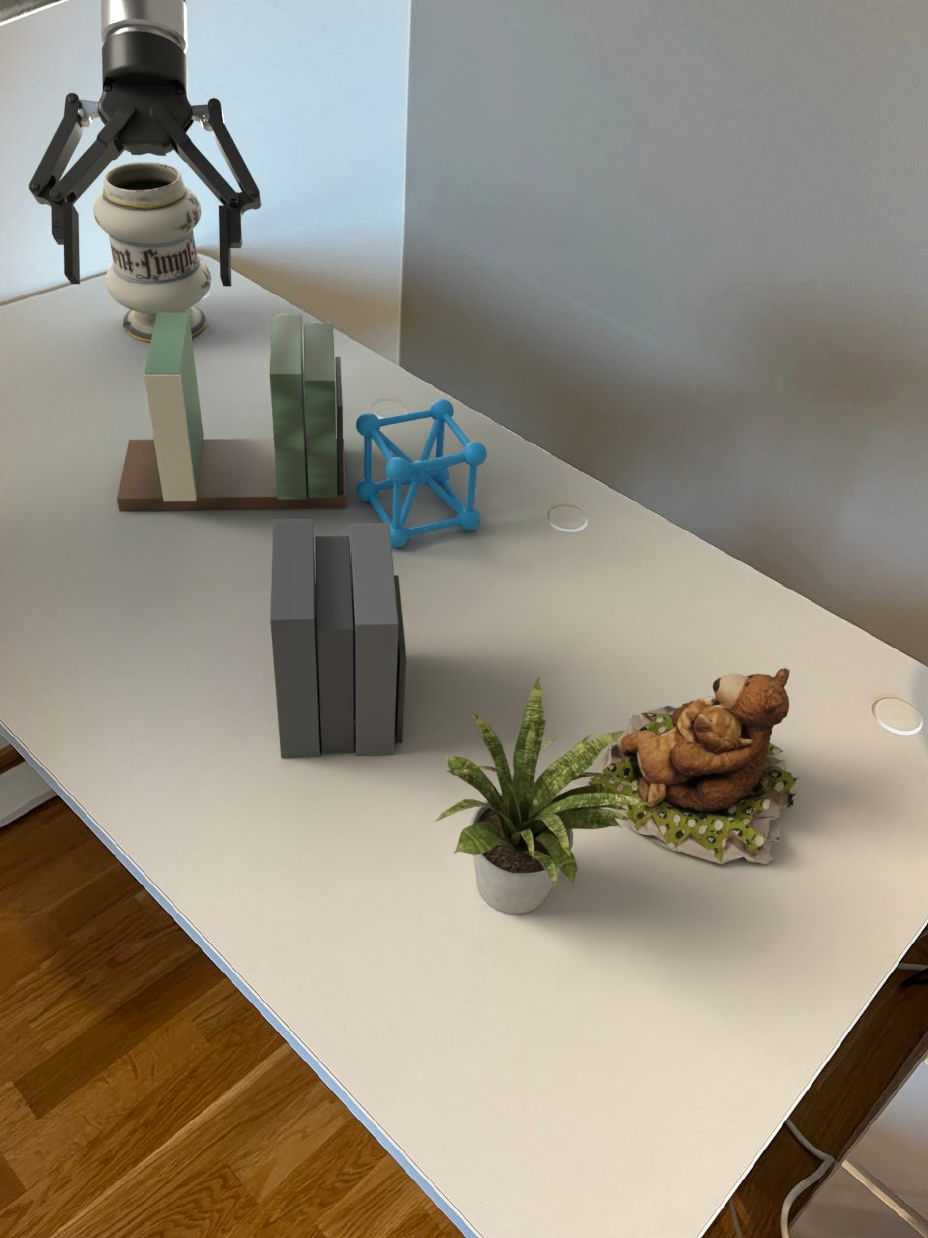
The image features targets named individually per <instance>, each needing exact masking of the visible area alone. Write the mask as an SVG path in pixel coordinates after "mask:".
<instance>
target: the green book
mask: <svg viewBox="0 0 928 1238" xmlns="http://www.w3.org/2000/svg"><path fill="white" fill-rule="evenodd" d="M196 368H197V367H196V358H195V351H194V343H193V337H192V334H191V325H190V317H189V313H157V314H156V319H155V324H154V329H153V334H152V339H151V342H150V345H149V349H148V354H147V360H146V363H145V369H144V373H143V380H144V386H145V392H146V398H147V399H146V400H147V405H148V411H149V417H150V418H149V419H150V425H151V431H152V437H153V440H154V444H155V450H156V456H157V462H158V469H159V475H160V481H161V488H162V494H163V500H164V501H196V500H197V489H198V480H199V472H200V463H201V455H202V446H203V439H205V436H204V426H203V418H202V409H201V404H200V403H201V401H200V393H199V385H198V377H197V369H196Z"/></svg>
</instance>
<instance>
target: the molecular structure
mask: <svg viewBox="0 0 928 1238" xmlns="http://www.w3.org/2000/svg"><path fill="white" fill-rule="evenodd" d="M454 413H455V409H454V406H453V403H452V402H451V401H449V400H448V399H445V398H439V399H436V400H434V401H433V403H431V405H430V409H425V410H420V411H414V412H409V413H404V414H397V415H393V416H387V417H382V418H379V417H378V416H377V415H376V414H375V413H372V412H363V413H362V414H360V415H359V416H358V417H357V419H356V422H355V429H356V431H357V433H358V434H359V435H360V436H362V437H364V438H363V439H364V441H363V442H364V443H363V445H364V446H363V449H364V451H363V455H364V456H363V463H364V464H363V476H364V477H363V478H362V479H361V480H360V481H358V483H357V484H356V488H355V490H356V491H355V492H356V495H357V496H358V498H359V499H360V500H362V501H363V502H370V503H371V505H372V506H373V507H374V509H375V511H376V512H377V514H378V516H379V517H380V519H381V520H382V522H383V524H385V523H388V524H389V526H390V537H391V547H392V548H395V549H396V548H401V547H403V546H405V544H406V543H407V542H408V540H409V537H412V536H417V535H421V534H426V533H430V532H434V531H435V532H436V531H439V530H443V529H448V528H451V527H456V526H459V527H460V528H461V530H464V531H467V532H468V531H469V532H470V531H474V530H476V529H477V528H478V527H479V526H480V524H481V520H482V517H481V513H480V511H479V510H477V509H476V508H475V498H476V497H475V496H476V495H475V494H476V488H477V487H476V485H477V477H478V476H477V473H478V467H480V466H482V465H483V464H484V463H485V461H486V460H487V457H488V452H487V451H488V450H487V448H486V446H485V445H484V444H483V443H481V442H479V441H476V440H475V441H470V439H469V438H468V437H467V436H466V434H465V433H464V432H463V430H462V429H461V428H460V427H459V425H458V424H457V422H456V421H455V420H454V418H453V416H454ZM428 418H431V419H433V423H432V426H431V427H430V428H431V429H430V431H429V434H428V437H427V438H426V439H427V440H426V442H425V445H424V448H423V451H422V453H421V455H420V459H419V460H415V461H413V460H412V459H411V458H410V457H409V456H408V455H407V454H406V453H405V452H403V450H401V449H400V448H399V447H398V446H397V445H396V444H395V443H394V442H393V441H392V440H391V439H390V438H389V437H387V436H386V435H385V434H384V433H383V432H382V431H381V427H385V426H391V425H396V424H401V423H407V422H411V421H412V422H413V421H417V420H422V419H423V420H424V419H428ZM446 425H447V427H449V429H450V430H451V432H452V433H453V434H454V435H455V437H456V438H457V439H458V441H459V442H460V443H461V445H462V447H463V448H462V452H459V453H454V454H449V455H444V443H445V427H446ZM435 441H436V442H435ZM373 442H374V443H375V444H376V446H377V448H378V450H379V451H380V452H381V454H382V455H383V457H384V458H385V460H386V462H387V463H386V464H385V468H384V473H385V476H386V477H387V479H384V480H381V481H378V482H377V481H376V480H375V479H373V477H372V475H373V474H372V473H373V471H372V470H373ZM434 445H435V457H434V458H430V456H431V453H432V450H433V447H434ZM429 458H430V459H429ZM462 463H465V464H466V465H467V466H469V469H468V479H467V481H468V482H467V491H466V492H467V493H466V503H465V504H466V505H465V504H464V503H463V502H462V501H461V499H460V498H459V496H458V495H457V494H456V492H455V490H454V489H453V488H452V485H450V484H449V482H448V481H449V479H450V471H449V469H448V468H450V467H453V466H455V465H459V464H462ZM424 484H425V485H426V486H427V487H429V488H430V489H431V490H432V491H433V492H434V493H435V494H436V495H437V496H438V497H439V498H440V499H441V500H442V501H443V502H445V504H447V505H448V506H449V507H450V508H451V509H452V511H454V512H455V513H456V514H457V516H456V517H454V518H450V519H445V520H441V521H436V522H432V523H427V524H424V525H419V526H414V527H410V528H407V527H405V523H406V521H407V518H408V516H409V513H410V510H411V508H412V505H413V502H414V500H415V496H416V493H417V490H418V488H419V485H420V486H421V485H424ZM409 485H410V486H409ZM404 486H409V488H408V490H407V494H406V497H405V499H404V502H403V504H402V487H404ZM390 489H391V490H392V489H393V493H392V495H393V496H392V519H391V518H390V516H389V515H388V513H387V511H386V509H385V508H384V506H383V505H382V503H381V502H380V500H379V499H378V496H379V495H380V492H382V491H386V490H390Z"/></svg>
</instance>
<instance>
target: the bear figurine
mask: <svg viewBox="0 0 928 1238" xmlns="http://www.w3.org/2000/svg"><path fill="white" fill-rule="evenodd" d="M790 670H791V669H788V668H786V667H784V668H780V669H779V670H778V671H777V672H776V673H775V674H774V676H772V675H770V674H764V673H753V674H749V675H743V674H741V673H728V674H725V675H723V676H721V677H718V678H717V679H716V680H714V681H713V683H712V691H713V692H714V696H708V697H704V698H698V699H696V700H691V701H689V702H685V703H683V704H682V705H681V706H679V707H674V706H671V705H666V706H663V707H659V708H654V709H650V710H646V711H643V712H640V714H632V716H631V718H630V720H629V722H628V723H627V726H626V728H625V731H627V732H623V735H622V734H621V735H620V736H619V737H618V738H617V739H616V743H614V744H610V745H609V747H608V748H607V751H606V753H605V755H604V756H603V759H602V760H601V762H600V764H599V766H598V768H597V770H596V772H595V773H601V774H606V775H610V776H614V777H617V778H620V779H623V780H625V781H627V782H629V783H632V784H635V785H637V786H640V787H643V788H646V789H649V790H645V789H641V788H637V787H633V786H629V785H626V784H622V783H619V782H615V781H612V780H608V779H604V778H599V777H595V776H592V777H590V780H589V781H588V782H587V784H588V785H603V786H606V787H608V788H609V789H611V790H613V791H614V793H615V794H620V795H625V796H630V797H634V798H636V799H639V800H642V801H645V802H648V803H650V804H651V805H630V804H622V803H619V804H617V805H619V806H621V807H623V808H625V809H626V810H617V809H615V810H616V812H617V813H620V814H622V815H623V816H626V817H628V818H630V819H631V820H627V823H628V824H629V826H630V829H631V830H632V831H633V832H635V833H637V834H639V835H641V836H642V837H644V838H646V836H654V837H655V838H657V839H659V840H660V841H662V842H664V843H665V845H666V846H667V847H668V848H667V847H666V846H663V845H661V844H660V843H658V842H656V841H654V840H651V839H650V838H648V840H650V841H651V842H653V843H655V844H656V845H658V846H660V847H662V848H663V849H665V850H667V851H672V852H678V853H683V854H686V855H690V856H692V857H696V858H699V859H703V860H705V861H708V862H712V863H716V864H719V865H724V864H726V863H727V862H731V861H734V860H737V859H741V858H745V859H746V861H747V862H751V863H757V864H763V865H769V863H770V862H771V861H775V859H774V857H773V856H772V855H771V854H770V853H769V851H770V850H771V848H772V846H773V845H777V844H780V816H781V813H783V812H784V811H786V810H787V809H789V808H790V807H791V806H793V805H795V802H796V800H795V799H796V798H797V796H798V795H797V794H798V793H797V792H792V789H793V787H794V785H796V783H797V780H798V779H799V776H798V775H796V774H794V773H792V772H789V771H788V769H787V760H786V759H779V758H778V757H777V756H775V755H778V754H781V753H783V752H784V750H782V748H780V747H779V746H777V745H776V744H773V743H771V736H772V735H773V728H774V727H775V726H776V725H779V724H782V722H783V720H784V719H785V718H786V717H788V713H789V711H790V710H789V709H790V700H789V695H788V692H787V690H786V688H785V686H786V685H787V684H788V681H789V677H790V673H791V672H790ZM588 785H586V786H588ZM650 790H651V791H650ZM652 805H653V806H652ZM627 810H628V811H627ZM776 819H777V820H776ZM632 820H633V821H632ZM771 821H776V822H775V824H774V826H773V828H772V830H771V832H770V834H769V828H770V823H771Z"/></svg>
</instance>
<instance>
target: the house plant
mask: <svg viewBox="0 0 928 1238" xmlns="http://www.w3.org/2000/svg"><path fill="white" fill-rule="evenodd" d="M540 679H541V676H538V678H537V679H536V680H535V683H534V684H533V687H532V688H531V691H530V693H529V695H528V698H527V703H526V705H525V708H524V712H523V717H522V721H521V725H520V728H519V729H520V730H519V733H518V735H517V739H516V743H515V747H514V751H513V756H512V768H513V769H512V770H513V774H512V773H511V768H510V765H509V762H508V759H507V756H506V752H505V748H504V746H503V744H502V742H501V740H500V739H499V737H498V736H497V734H496V733H495V731H494V730H493V728H492V727H491V725H490V724H488V722H486V721H485V719H483V718H482V717H481V716H479V715H478V714H476V713H475V712H474V711H472V710H470V713H471V715H472V717H473V720H474V722H475V723H476V725H477V726H478V727H479V729H480V733H481V734H480V735H481V738H482V740H483V742H484V744H485V746H486V748H487V751H489V753H490V756H491V758H492V761H493V764H494V766H491V765H490V766H489V765H477V764H476V763H474V761H472V760H471V759H468V758H466V757H464V756H463V757H462V756H457V755H456V756H455V755H454V756H453V755H452V756H451V755H449V756H445V758H446V761H447V767H448V769H449V770H447V771H446V773H449V774H451V775H452V776H453V777H458V778H459V779H460V780H462V781H464V782H465V783H466V784H468V785H469V786H471V787H472V788H474V789H475V790H477V791H478V792H479V793H480V795H481V796H483V798H484V799H485V800H483V802H482V801H480V800H477V799H474V798H464V799H461V800H460V801H457V802H456V803H454V805H452V806H451V807H449V808H447V809H446V810H445V811H443V812H441V813H440V814H439V816H438V817H437V819H436V820H434V821H433V823H435V822H438V821H441V820H443V819H445V818H447V817H449V816H450V817H451V816H452V815H455V814H457V813H459V812H463V811H464V810H468V809H472V808H476V810H474V813H473V815H472V817H471V820H470V824H469V825H468V826H466V827H464V828H462V830H461V832H460V834H459V838H458V841H457V845H456V848H455V851H454V852H453V854H457V853H463V854H467V855H472V859H473V867H474V873H475V880H476V881H475V882H476V886H477V890H478V893H479V895H480V897H481V898H482V900H483V901H484V902H485V903H486V904H487V906H489V907H490V908H492V909H494V910H495V911H496V912H500V913H503V914H506V915H514V916H517V915H525V914H527V913H530V912H533V911H534V910H536V909H537V908H538V907H540V906H541V905H542V904H543V902H544V901H545V900H546V898H547V896H548V894H549V893H550V890H552V887H553V886H554V888H555V890H557V888H558V876H559V875H560V873H562V874H564V876H566V877H567V878H568V880H569V881H570V882H571V884H572V888H575V883H576V878H577V874H578V863H577V859H576V858H575V854H574V853H573V852H572V849H573V846H574V831H573V830H599V829H605V828H608V827H619V828H621V829H622V828H623V827H622V826H621V824H619V822H618V821H617V820H621V821H628V820H631V819H630V818H628V817H626V816H623V815H622V814H620V813H619V812H618V811H617V810H626V809H625V808H623V807H621V806H619V805H617V804H619V803H622V804H630V805H651V804H650V803H648V802H645V801H642V800H639V799H636V798H634V797H630V796H625V795H620V794H615V793H614V791H613V790H611V789H609V788H608V787H606V786H603V785H589V784H588V786H587V785H584V786H579V787H576V788H572V789H569V790H566V791H565V792H562V791H563V790H564V789H565V788H566V787H567V786H568V785H569V784H570V783H571V782H573V781H576V780H579V779H582V778H592V777H594V776H595V777H599V778H604V779H608V780H612V781H615V782H619V783H622V784H626V785H629V786H633V787H637V788H641V789H645V790H649V789H646V788H643V787H640V786H637V785H635V784H632V783H629V782H627V781H625V780H623V779H620V778H617V777H614V776H610V775H606V774H601V773H596V772H594V771H593V772H592V771H591V772H590V771H586V770H588V769H590V767H592V766H593V765H594V763H595V761H596V760H597V758H598V757H599V755H600V754H601V752H602V751H603V750H604V749H605V748H607V747H608V746H610V745H612V744H613V743H614V742H617V739H618V737H619V736H621V735H622V734H624V733H625V732H627V731H626V730H618V731H613V732H609V733H605V734H602V735H599V736H597V737H595V738H593V739H591V740H590V738H591V736H592V735H594V733H590V734H589V735H587V736H585V737H583V739H581V740H580V741H578V742H577V743H576V744H574V745H573V746H572V747H571V748H570V749H569V750H568V751H567V752H565V753H564V754H563V755H561V757H559V758H558V759H556V760H555V761H554V762H552V763H551V764H550V765H549V766H548V767H547V768H546V769H544V771H543V772H542V773H541V774H540V775H539V776H538V777H537V779H536V778H535V777H536V770H537V765H538V760H539V756H540V752H541V750H543V749H544V748H546V747H547V746H548V745H550V744H551V743H552V742H554V741H556V739H557V738H558V737H559V735H558V736H556V737H554V738H551V740H549V741H547V742H545V743H543V744H542V742H543V738H544V734H545V728H546V715H545V712H544V708H543V691H544V690H543V687H542V683H541V680H540ZM589 740H590V741H589ZM483 770H486V771H491V772H492V773H493V772H494V773H496V776H497V780H498V785H499V787H500V790H501V792H499V791H498V789H497V787H496V786H495V784H494V783H493V782H492V781H491V780H490V779H489V777H488V776H487V775H486V774H485V772H483ZM535 779H536V780H535ZM650 791H651V790H650ZM560 792H562V793H560ZM559 793H560V794H559ZM652 806H653V805H652ZM605 808H607V809H605ZM608 808H610V809H613V810H610V809H608ZM616 809H617V810H616ZM614 810H616V811H614ZM627 811H628V810H627ZM632 821H633V820H632Z"/></svg>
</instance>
